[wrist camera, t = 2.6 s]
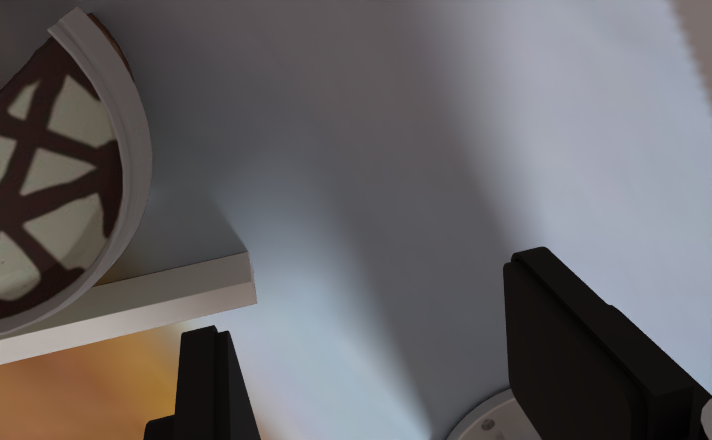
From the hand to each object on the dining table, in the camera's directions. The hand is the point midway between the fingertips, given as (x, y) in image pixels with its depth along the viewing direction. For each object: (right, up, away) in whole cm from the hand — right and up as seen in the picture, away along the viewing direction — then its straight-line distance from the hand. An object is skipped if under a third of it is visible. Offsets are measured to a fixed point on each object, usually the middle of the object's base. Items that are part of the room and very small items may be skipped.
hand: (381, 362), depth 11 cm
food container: (-13, +6, +16) cm, 22 cm away
